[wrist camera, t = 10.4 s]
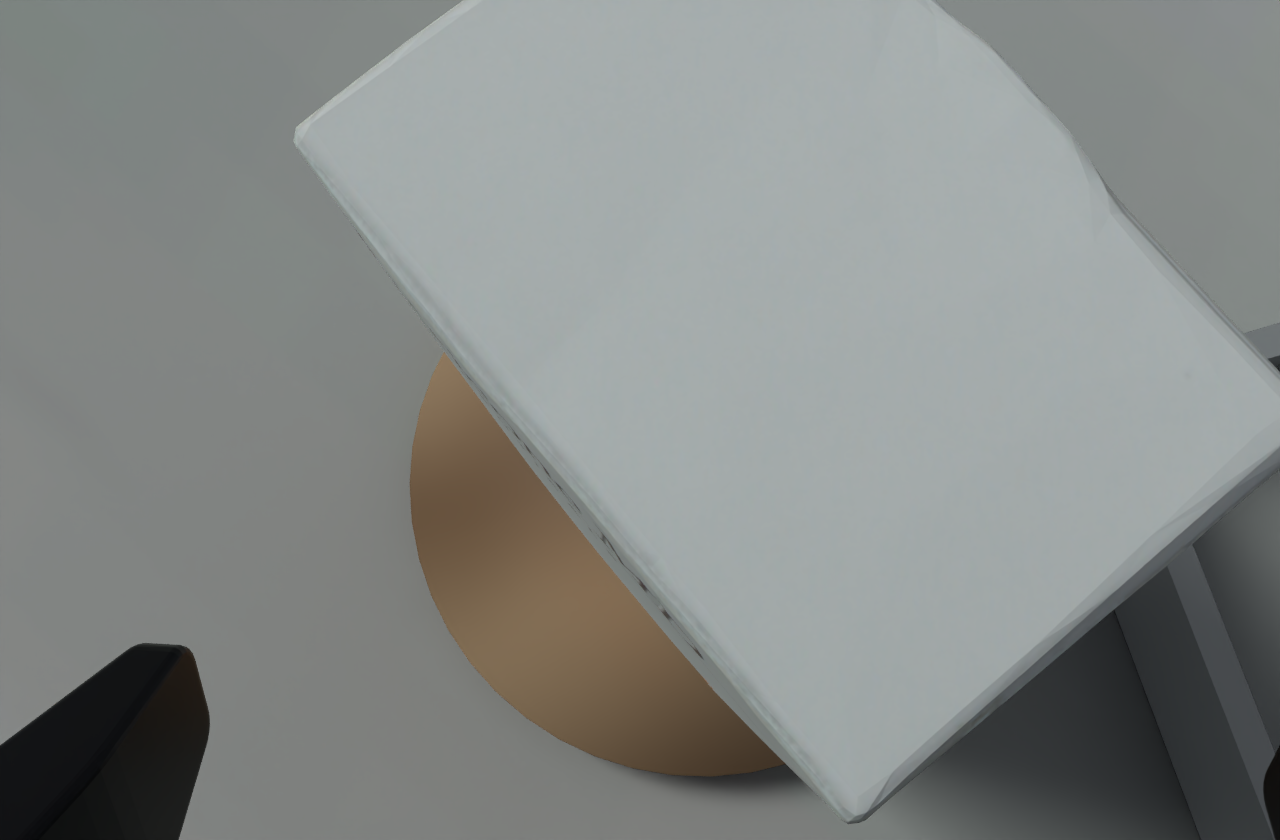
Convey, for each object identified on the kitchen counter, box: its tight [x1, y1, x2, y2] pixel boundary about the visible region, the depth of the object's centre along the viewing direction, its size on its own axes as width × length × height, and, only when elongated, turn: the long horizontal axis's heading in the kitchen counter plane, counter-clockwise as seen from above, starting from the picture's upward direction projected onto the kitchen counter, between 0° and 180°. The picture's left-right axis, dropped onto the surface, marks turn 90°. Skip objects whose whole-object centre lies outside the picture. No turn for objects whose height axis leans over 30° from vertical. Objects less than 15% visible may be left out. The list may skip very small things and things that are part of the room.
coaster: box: [410, 352, 785, 776], centre depth 19 cm, size 10×10×1 cm
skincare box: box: [294, 0, 1280, 824], centre depth 13 cm, size 6×4×12 cm
